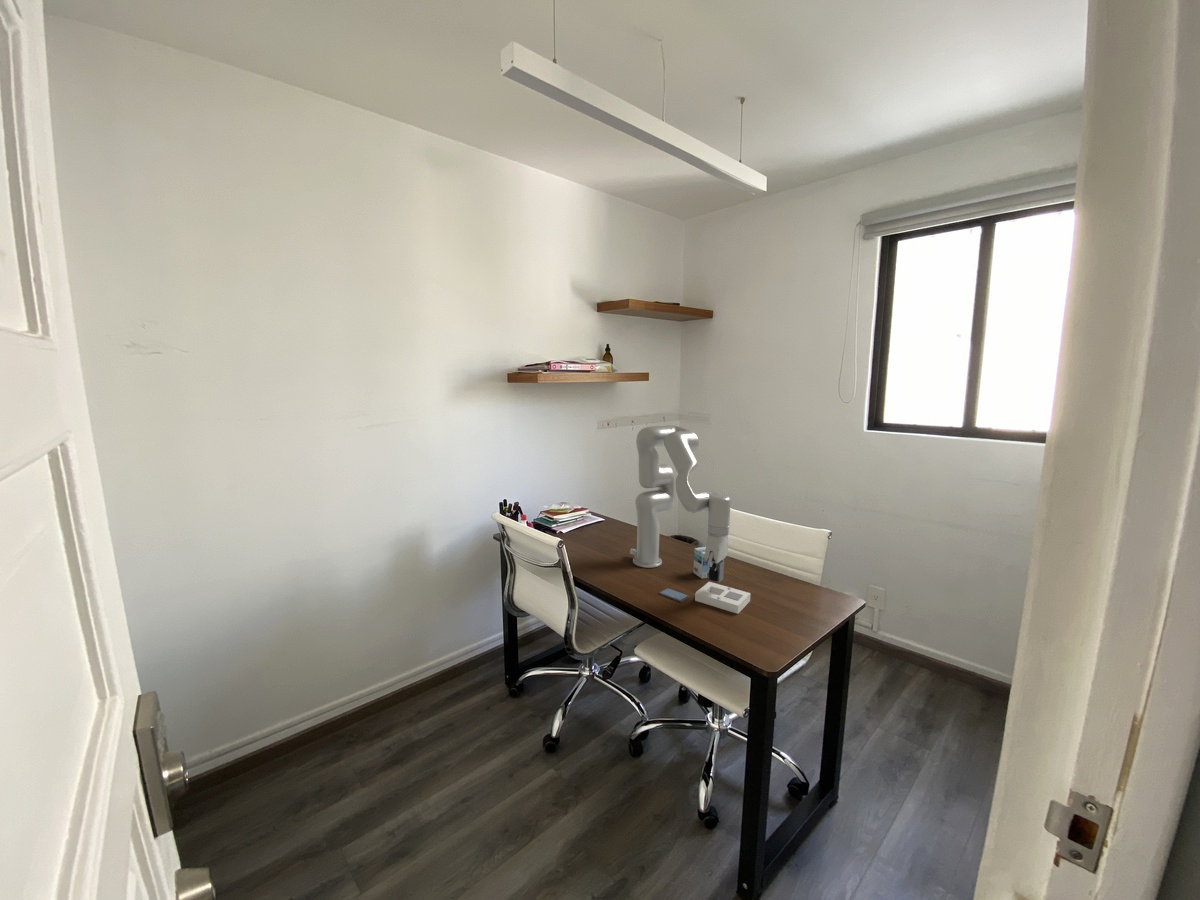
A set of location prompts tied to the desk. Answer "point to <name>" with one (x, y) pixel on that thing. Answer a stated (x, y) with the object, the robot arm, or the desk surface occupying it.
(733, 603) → the outlet plate
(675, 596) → the phone
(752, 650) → the desk surface
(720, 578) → the charger
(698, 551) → the light bulb box
